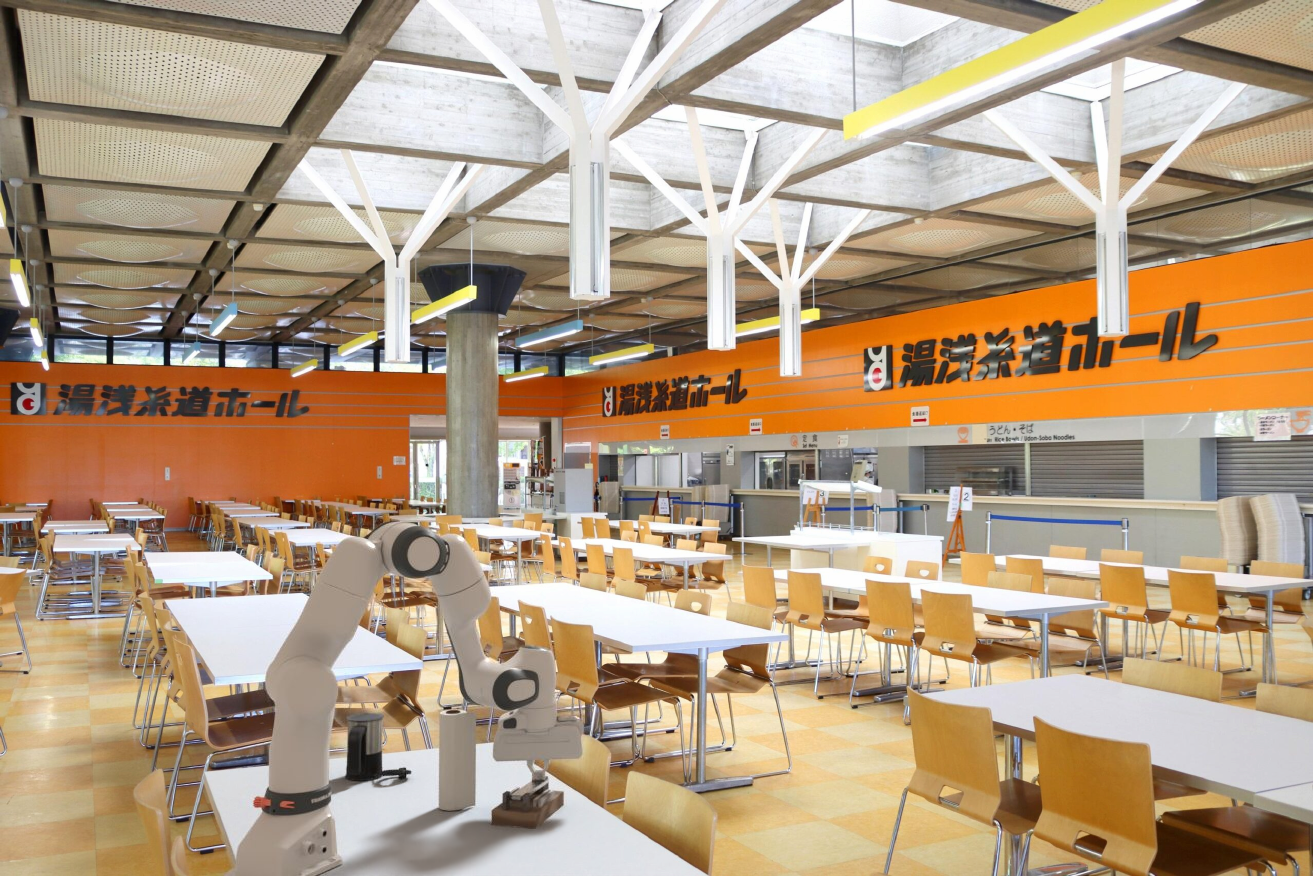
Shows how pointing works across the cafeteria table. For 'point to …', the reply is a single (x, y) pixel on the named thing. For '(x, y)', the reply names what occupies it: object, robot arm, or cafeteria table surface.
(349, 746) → the milk frother
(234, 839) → the cafeteria table surface
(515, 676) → the robot arm
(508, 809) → the wooden base lever press
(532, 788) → the beige-grey bar
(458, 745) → the paper towel roll
